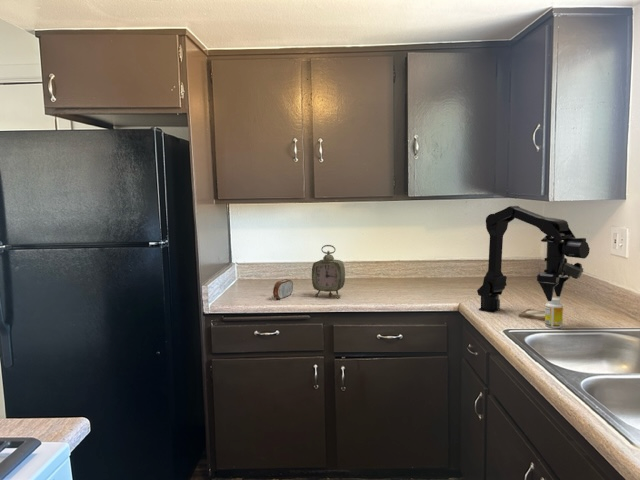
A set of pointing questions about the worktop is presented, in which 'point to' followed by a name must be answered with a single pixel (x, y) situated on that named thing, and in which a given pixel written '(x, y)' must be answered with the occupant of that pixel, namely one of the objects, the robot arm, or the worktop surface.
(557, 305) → the supplement bottle
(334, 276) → the tabletop clock
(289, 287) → the tin
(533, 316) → the walnut board
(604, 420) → the worktop surface
